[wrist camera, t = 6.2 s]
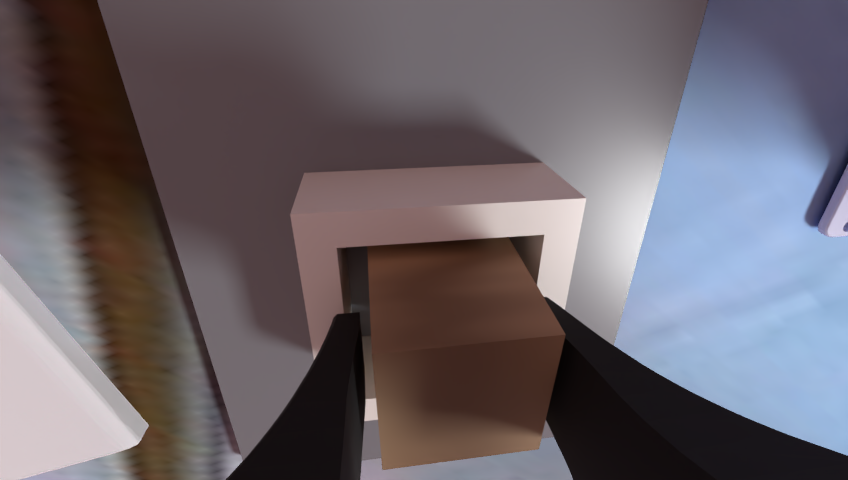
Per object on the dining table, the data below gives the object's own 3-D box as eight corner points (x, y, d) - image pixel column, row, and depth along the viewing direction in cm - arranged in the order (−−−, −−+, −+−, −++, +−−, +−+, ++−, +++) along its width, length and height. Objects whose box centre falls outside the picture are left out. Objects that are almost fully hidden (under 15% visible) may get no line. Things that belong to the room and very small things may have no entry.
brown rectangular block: (489, 204, 14) (565, 334, 9) (481, 299, 16) (538, 449, 11) (365, 212, 13) (371, 354, 8) (373, 309, 16) (382, 469, 10)
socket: (707, -69, 12) (840, -99, 9) (582, 418, 21) (622, 493, 18) (88, -84, 10) (-45, -130, 7) (251, 457, 20) (229, 549, 16)
